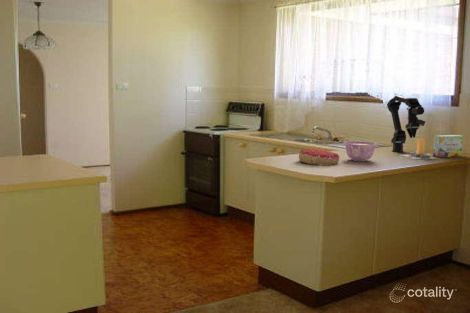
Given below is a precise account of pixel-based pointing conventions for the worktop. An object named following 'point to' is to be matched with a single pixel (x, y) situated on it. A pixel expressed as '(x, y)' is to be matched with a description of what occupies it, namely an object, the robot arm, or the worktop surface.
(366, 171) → the worktop surface
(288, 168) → the worktop surface
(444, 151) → the snack box
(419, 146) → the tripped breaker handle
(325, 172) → the worktop surface
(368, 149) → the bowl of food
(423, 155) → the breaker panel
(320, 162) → the cake
